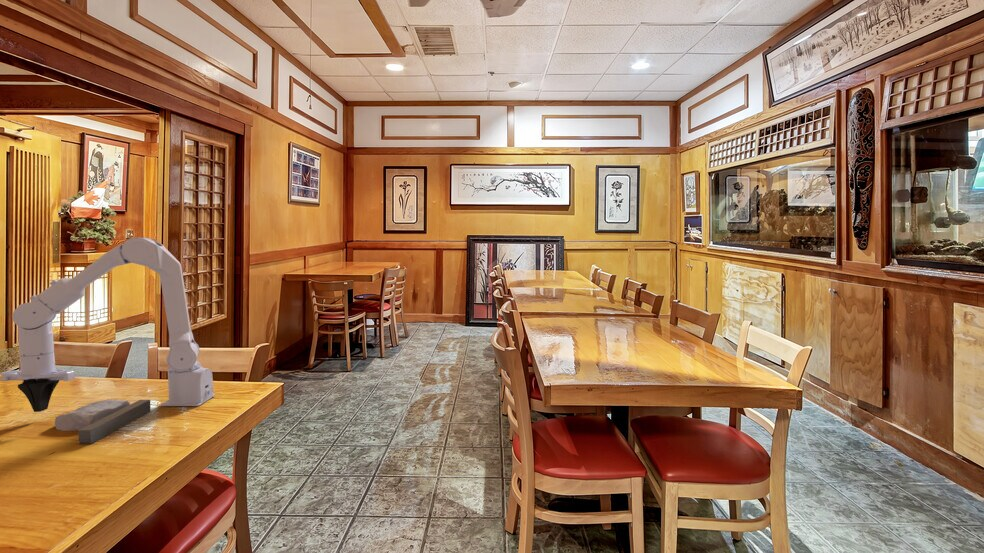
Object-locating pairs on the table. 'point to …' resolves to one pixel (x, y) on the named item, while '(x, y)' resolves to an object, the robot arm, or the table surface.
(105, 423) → the bar
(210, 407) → the table surface
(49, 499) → the table surface
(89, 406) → the stone block
